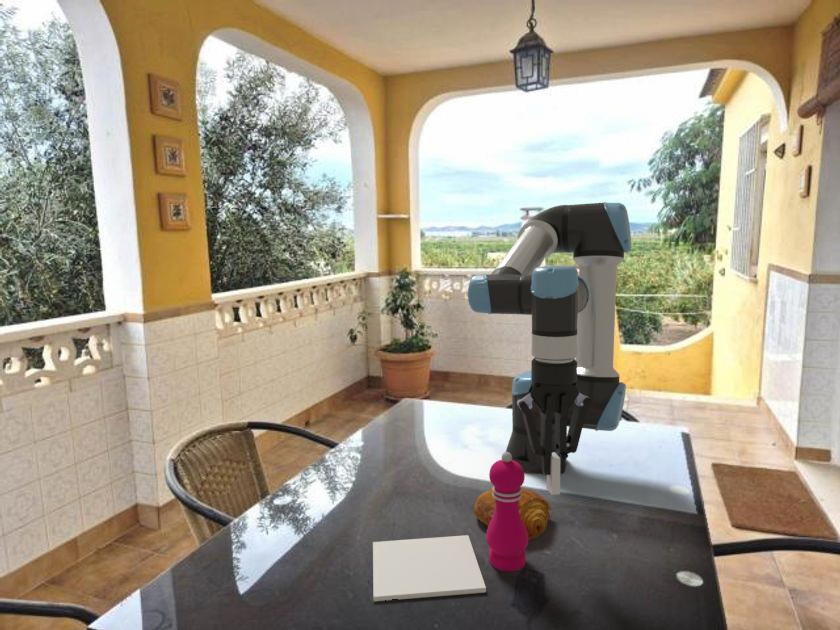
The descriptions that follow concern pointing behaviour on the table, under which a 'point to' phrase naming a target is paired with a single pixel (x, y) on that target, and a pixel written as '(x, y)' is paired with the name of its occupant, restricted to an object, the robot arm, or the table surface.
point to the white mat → (425, 568)
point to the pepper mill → (507, 516)
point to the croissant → (530, 511)
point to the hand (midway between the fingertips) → (553, 491)
